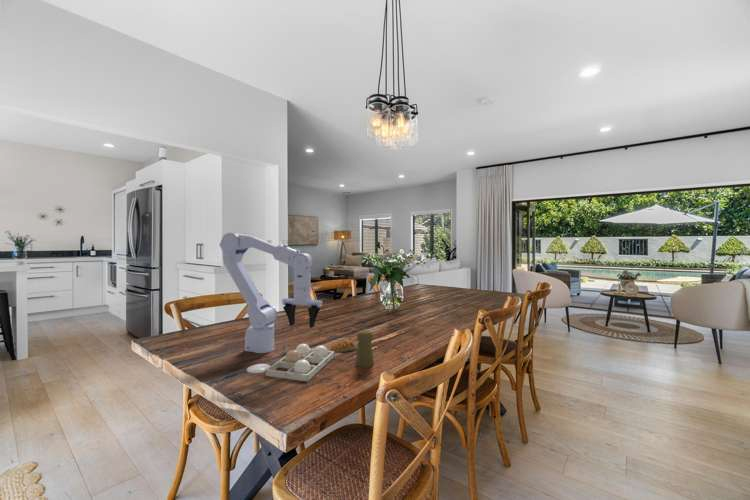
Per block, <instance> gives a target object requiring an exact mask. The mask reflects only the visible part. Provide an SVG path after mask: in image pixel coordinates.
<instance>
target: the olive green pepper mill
mask: <svg viewBox="0 0 750 500" xmlns="http://www.w3.org/2000/svg"><path fill="white" fill-rule="evenodd" d="M373 338H374V335H373V332H372V331H370V330H365V329H364V330H359V331H358V332H357V334H356V339H357V341H358V344H357V348H356V349H357V350H356V359H355V365H356V366H357V367H360V368H370V367H373V366H374V364H375V362H374V354H373V347H372V346H373V344H372V341H373Z"/></svg>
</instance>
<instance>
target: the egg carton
mask: <svg viewBox="0 0 750 500" xmlns="http://www.w3.org/2000/svg"><path fill="white" fill-rule="evenodd" d="M314 349H315V348H310V354H309V355H308V356H303V355H301V359H300V360H302V359H304V360H307V361H308V362H309V363H313V364H317V365H313V364H310V366H311V369H310V372H309V373H308V374H300V373H295V372H294V365H295V363H290V362H286V361H285V356H283V357H282V358H281V359H279V360H278V361H276V362H274V363H273V364H272V365H270V367H268V368H267V369H265V372H264V376H265V377H272V378H280V379H287V380H293V381H294V380H295V381H299V382H300V381H301V382H309V381H310V380H311V379H312V378H313V377H314V376H316V375H317V373H319V372H320V371H321V370H322V369H323V368H324V367H326V365H327V364H328V363H330V362H331V361H332V360H333V359H334V358H335V353H336V352H335V351H331V350H328V356H327V357H326V358H320V357H314V355H313V352H314ZM279 368H280V369H281V368H282V369H287V370H286V371H282V370H277V369H279Z"/></svg>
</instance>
